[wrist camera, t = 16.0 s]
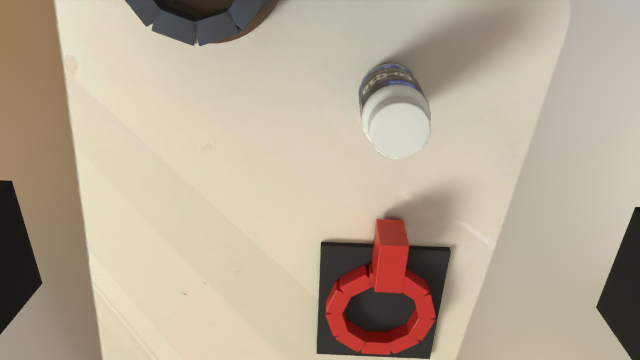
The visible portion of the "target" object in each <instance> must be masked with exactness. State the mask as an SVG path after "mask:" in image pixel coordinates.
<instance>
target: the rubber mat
mask: <svg viewBox="0 0 640 360" xmlns="http://www.w3.org/2000/svg"><path fill="white" fill-rule="evenodd" d="M373 247H374V244H353V243H330V242H321V260H320V284H319V308H318V333H317V354H332V355H354V356H377V357H399V358H421V359H430V355H431V350H432V345H433V340H434V334H435V329H436V324H437V319H438V314H439V309H440V303H441V298H442V293H443V288H444V283H445V278H446V273H447V267H448V262H449V257H450V252H451V251H450V248H447V247H424V246H409V251H408V258H407V264H406V268H408V269H409V270H410V271H412V272H413V273H415V274H416V275H418V276H419V277H421V278H422V279H423V280H425V281H426V284H428V286H429V290H430V294H431V298H432V302H433V307H434V311H435V316H436V317H435V318H434V319H435V321H434V323H433V325H432V326H431V328H430V329H429V331H428V332H427V334H426V335H425V337H424V338H423V340H422V341H421V340H418V341H419V343H418V344H416V345H413V346H411V347H409V348H407V349H404V350H402V351H400V352H397V353H395V354H393V352H392V351H390V355H385V354H364V353H361V350H360V351H359V352H356V351H355V350H353V349H351V348H350V347H348V346H346V345H345V344H343V343H341V342H340V341H338V340H336V336H333V334H332V331H331V329H330V326H329V323H328V320H327V318H326V300H327V298H328V296H329V294H330V292H331V290H332V288H333V286H334V284H335V282H336V280H339V277H340V276H342V275H344V274H346V273H348V272H350V271H352V270H354V269H356V268H358V267H360V266H362V265H364V264H365V265H366V266H367V268H369V263H372V256H373ZM339 281H340V280H339ZM415 309H416V305H415V301H414V300H413V299H412V298H410V297H409V296H407V295H406V294H404V293H403V292H402V293H388V292H375V289H374V287H371V288H369V289H367V290H365V291H363V292H361V293H359V294H357V295H355V296H352V297H351V298H350V300H349V302H348V304H347V306H346V308H345V310H344V311H345V314H346V317H347V320H348V321H350V322H352V323H353V324H355V325H356V326H358V327H360V328H361V329H363V330H364V331H378V332H388V331H390V330H392V329H395V328H397V327H399V326H401V325H403V324H406V323H407V322H408V320H409V319H410V317H411V315H412V314H413V312H414V310H415Z"/></svg>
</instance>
